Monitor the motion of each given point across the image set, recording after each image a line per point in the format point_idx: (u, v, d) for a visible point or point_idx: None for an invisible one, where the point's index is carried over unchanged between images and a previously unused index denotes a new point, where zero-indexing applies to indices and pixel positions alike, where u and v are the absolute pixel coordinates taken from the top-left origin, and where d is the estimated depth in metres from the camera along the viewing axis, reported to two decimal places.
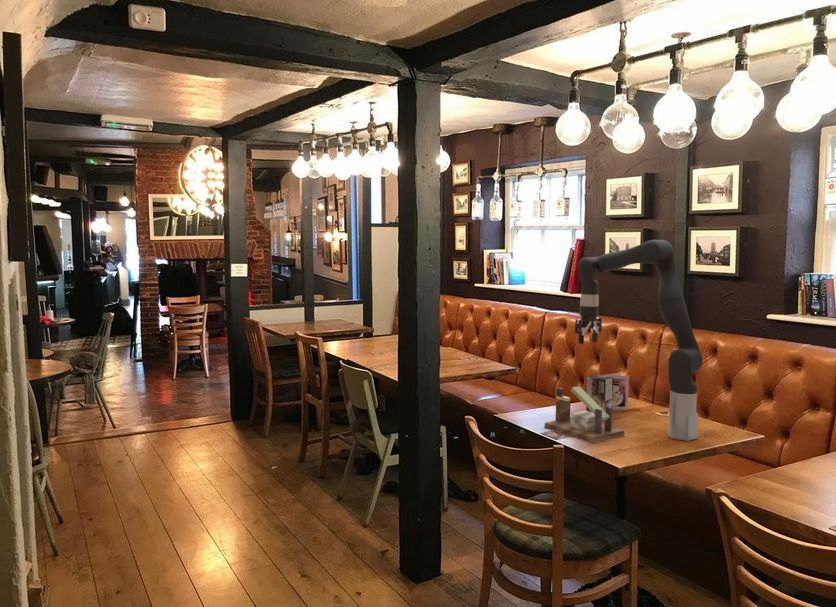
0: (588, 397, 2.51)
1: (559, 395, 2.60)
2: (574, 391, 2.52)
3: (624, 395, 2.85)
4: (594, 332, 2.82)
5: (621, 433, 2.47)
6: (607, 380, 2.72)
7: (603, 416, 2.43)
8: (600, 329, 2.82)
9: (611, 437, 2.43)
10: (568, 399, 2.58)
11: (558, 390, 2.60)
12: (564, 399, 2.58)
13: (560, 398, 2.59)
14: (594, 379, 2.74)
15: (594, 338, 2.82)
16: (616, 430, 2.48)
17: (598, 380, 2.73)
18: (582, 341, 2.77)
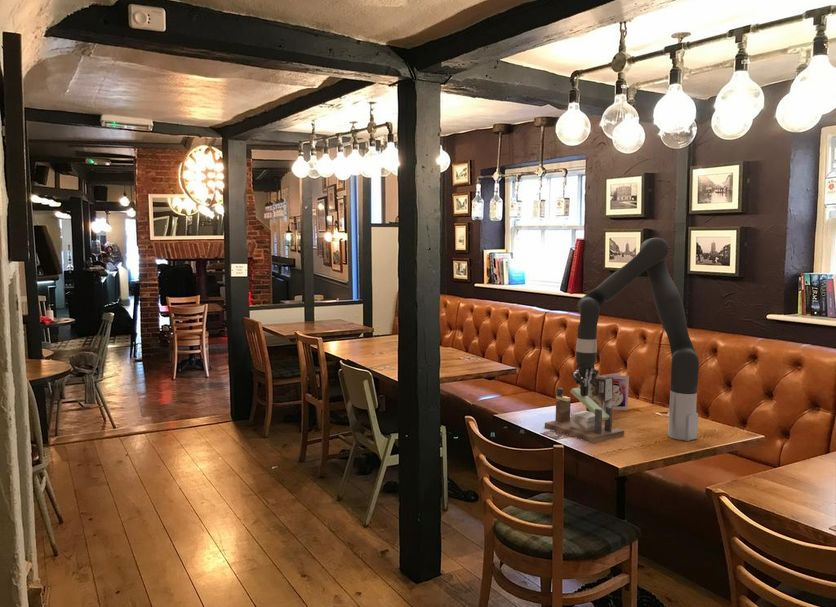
0: (588, 398, 2.51)
1: (559, 395, 2.60)
2: (573, 392, 2.53)
3: (624, 395, 2.85)
4: None
5: (621, 433, 2.47)
6: (607, 380, 2.72)
7: (603, 415, 2.43)
8: (591, 381, 2.51)
9: (611, 437, 2.43)
10: (568, 399, 2.58)
11: (558, 390, 2.60)
12: (564, 399, 2.58)
13: (560, 398, 2.59)
14: None
15: None
16: (616, 430, 2.48)
17: (598, 380, 2.73)
18: (584, 393, 2.50)
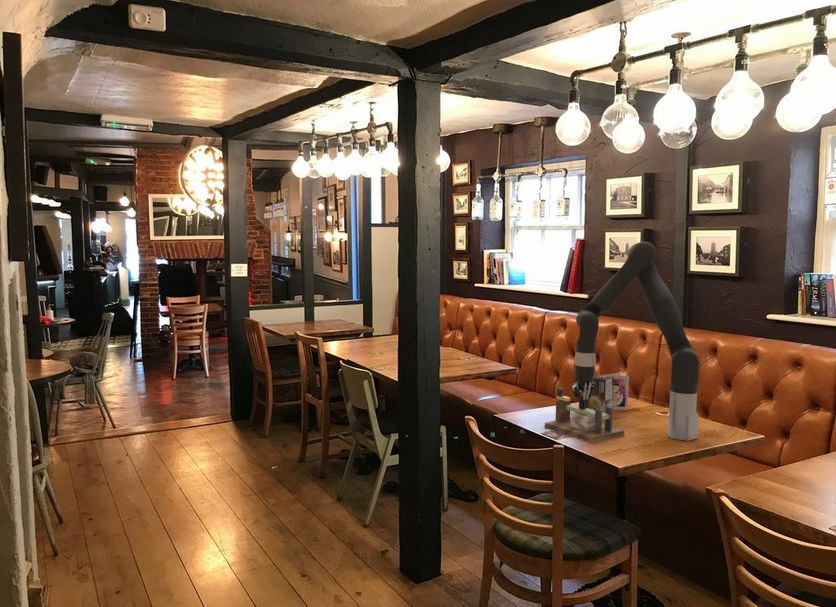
0: None
1: (559, 395, 2.60)
2: (569, 408, 2.55)
3: (624, 395, 2.85)
4: None
5: (621, 433, 2.47)
6: (607, 380, 2.72)
7: (603, 415, 2.44)
8: (590, 394, 2.52)
9: (611, 437, 2.43)
10: (568, 399, 2.58)
11: (558, 390, 2.60)
12: (564, 399, 2.58)
13: (560, 398, 2.59)
14: (594, 379, 2.74)
15: None
16: (616, 430, 2.48)
17: (598, 380, 2.73)
18: (582, 407, 2.51)
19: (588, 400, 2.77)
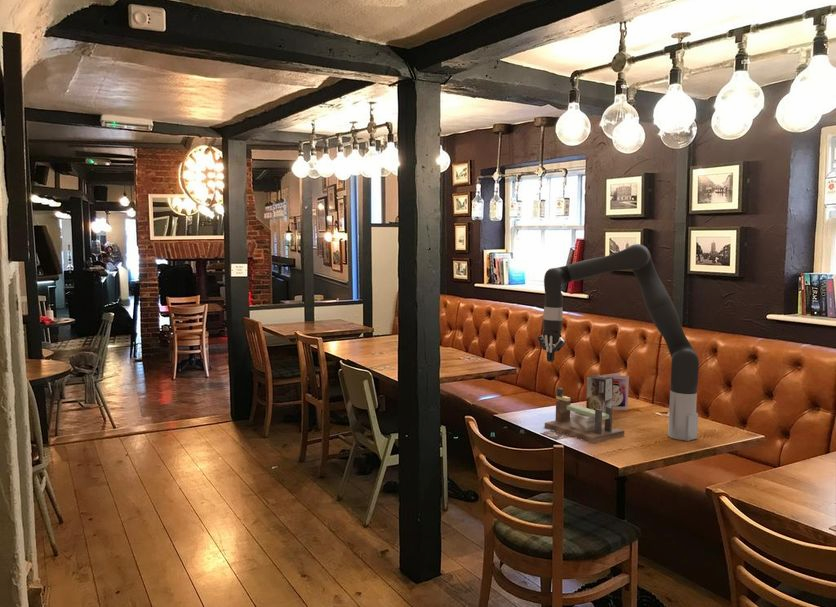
0: (584, 408, 2.53)
1: (559, 395, 2.60)
2: (569, 408, 2.55)
3: (624, 395, 2.85)
4: None
5: (621, 433, 2.47)
6: (607, 380, 2.72)
7: (603, 415, 2.44)
8: (554, 349, 2.61)
9: (611, 437, 2.43)
10: (568, 399, 2.58)
11: (558, 390, 2.60)
12: (564, 399, 2.58)
13: (560, 398, 2.59)
14: (594, 379, 2.74)
15: None
16: (616, 430, 2.48)
17: (598, 380, 2.73)
18: (547, 359, 2.65)
19: (588, 400, 2.77)
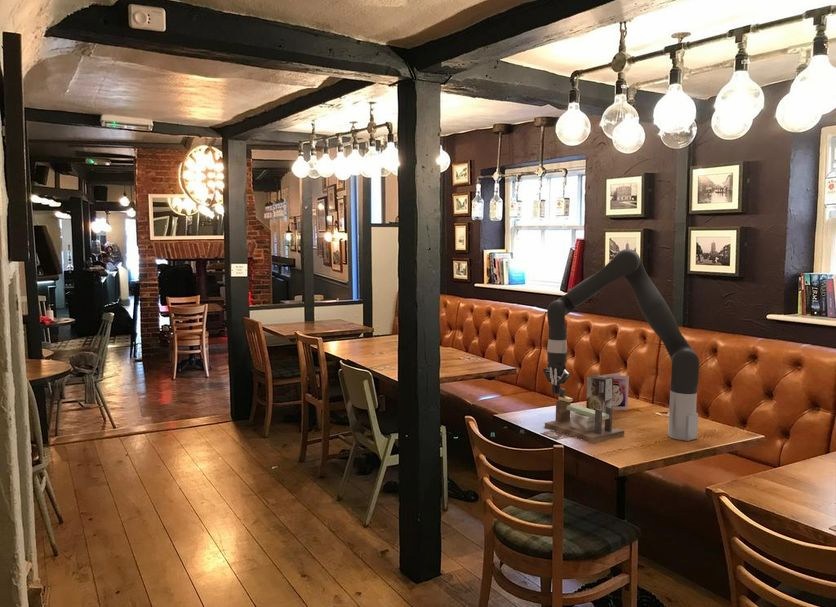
0: (584, 408, 2.53)
1: (561, 396, 2.59)
2: (569, 408, 2.55)
3: (624, 395, 2.85)
4: None
5: (621, 433, 2.47)
6: (607, 380, 2.72)
7: (603, 415, 2.44)
8: (559, 381, 2.60)
9: (611, 437, 2.43)
10: (570, 400, 2.57)
11: (560, 391, 2.59)
12: (566, 399, 2.57)
13: (562, 399, 2.59)
14: (594, 379, 2.74)
15: None
16: (616, 430, 2.48)
17: (598, 380, 2.73)
18: (553, 391, 2.63)
19: (588, 400, 2.77)
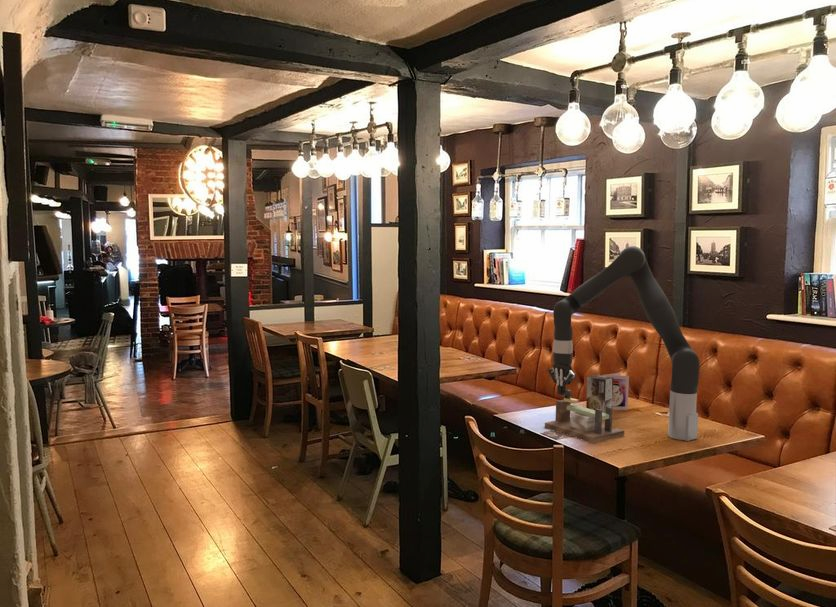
0: (584, 408, 2.53)
1: (567, 397, 2.57)
2: (569, 408, 2.55)
3: (624, 395, 2.85)
4: None
5: (621, 433, 2.47)
6: (607, 380, 2.72)
7: (603, 415, 2.44)
8: (564, 382, 2.58)
9: (611, 437, 2.43)
10: (576, 401, 2.55)
11: (566, 392, 2.57)
12: (572, 401, 2.55)
13: (568, 400, 2.56)
14: (594, 379, 2.74)
15: None
16: (616, 430, 2.48)
17: (598, 380, 2.73)
18: (558, 392, 2.61)
19: (588, 400, 2.77)
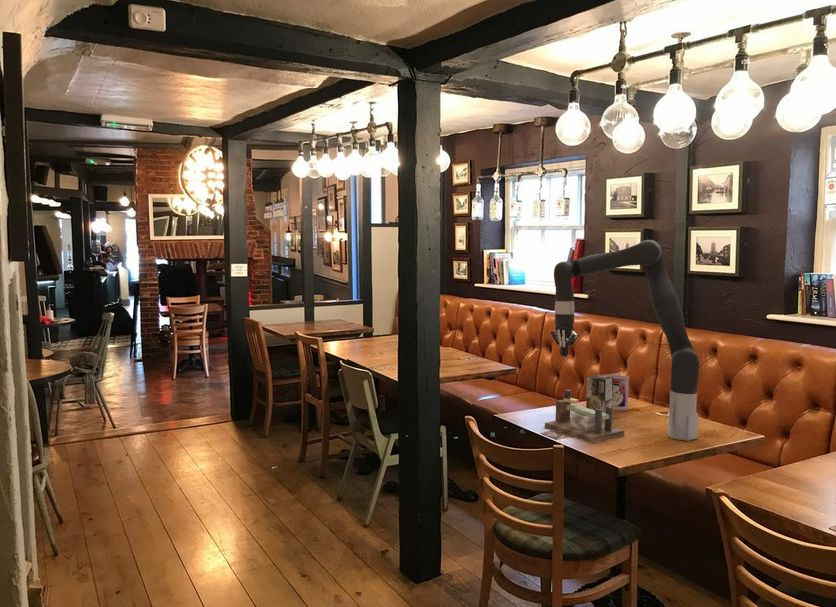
0: (584, 408, 2.53)
1: (567, 397, 2.57)
2: (569, 408, 2.55)
3: (624, 395, 2.85)
4: None
5: (621, 433, 2.47)
6: (607, 380, 2.72)
7: (603, 415, 2.44)
8: (567, 343, 2.59)
9: (611, 437, 2.43)
10: (576, 401, 2.55)
11: (566, 392, 2.57)
12: (572, 401, 2.55)
13: (568, 400, 2.56)
14: (594, 379, 2.74)
15: None
16: (616, 430, 2.48)
17: (598, 380, 2.73)
18: (561, 353, 2.62)
19: (588, 400, 2.77)
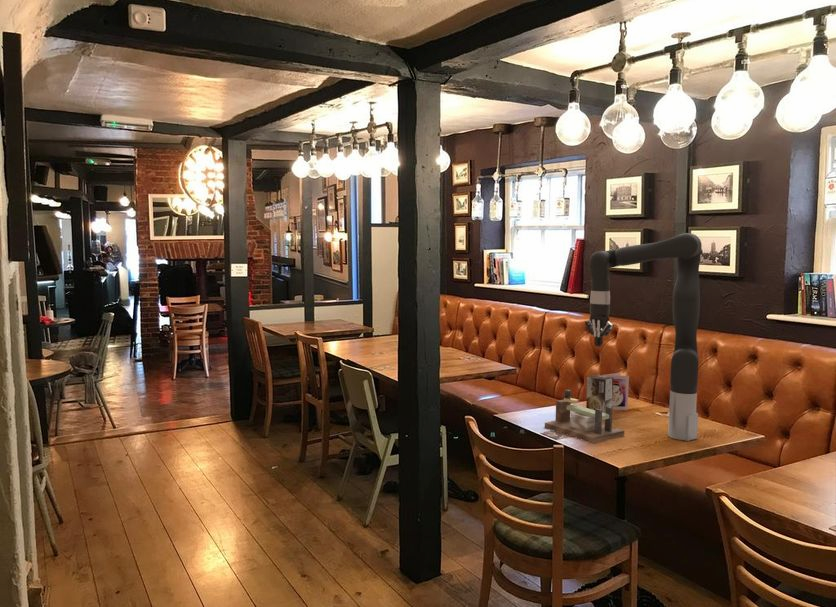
0: (584, 408, 2.53)
1: (567, 397, 2.57)
2: (569, 408, 2.55)
3: (624, 395, 2.85)
4: None
5: (621, 433, 2.47)
6: (607, 380, 2.72)
7: (603, 415, 2.44)
8: (602, 333, 2.58)
9: (611, 437, 2.43)
10: (576, 401, 2.55)
11: (566, 392, 2.57)
12: (572, 401, 2.55)
13: (568, 400, 2.56)
14: (594, 379, 2.74)
15: None
16: (616, 430, 2.48)
17: (598, 380, 2.73)
18: (595, 343, 2.61)
19: (588, 400, 2.77)
